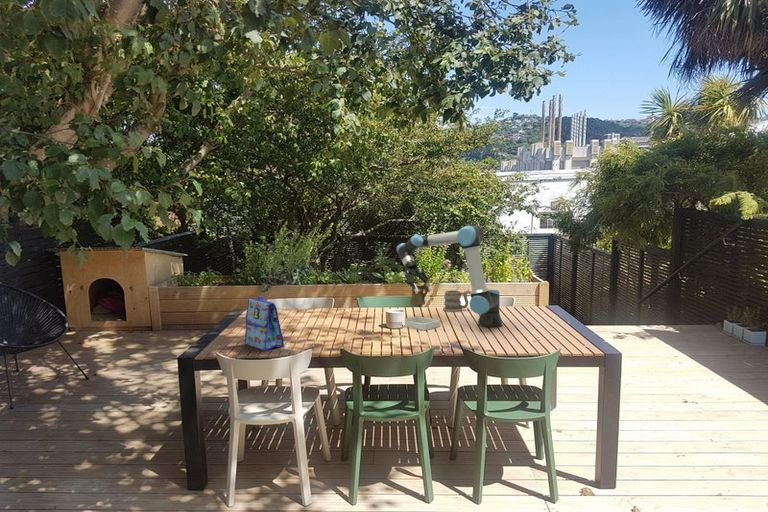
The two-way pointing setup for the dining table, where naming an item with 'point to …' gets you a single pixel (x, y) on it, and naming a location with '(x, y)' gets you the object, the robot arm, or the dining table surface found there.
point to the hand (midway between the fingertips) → (423, 291)
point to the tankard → (455, 301)
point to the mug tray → (421, 323)
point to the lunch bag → (262, 325)
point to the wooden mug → (420, 294)
